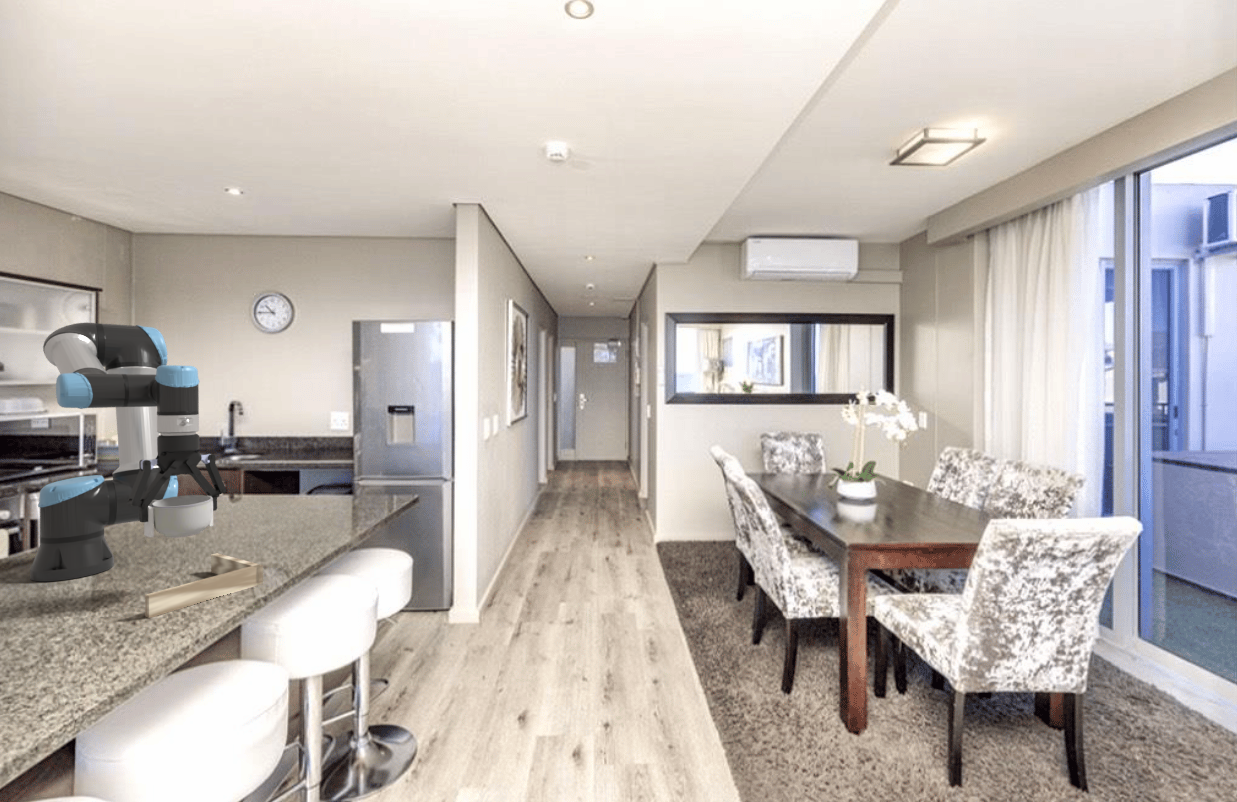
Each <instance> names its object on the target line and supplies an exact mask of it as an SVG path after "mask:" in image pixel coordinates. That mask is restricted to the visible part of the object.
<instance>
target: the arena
mask: <svg viewBox="0 0 1237 802" xmlns="http://www.w3.org/2000/svg"><path fill="white" fill-rule="evenodd" d="M210 573H212V574H215V575H214V576H210V577H206V578H203V579H198V580H194V581H192V582H188V583H184V584H181V585H177V586H172V587H169V588H165V589H162V590H157V591H154V592H150V593H148V594H147V593H146V594H145V597H144V599H145V601H144V602H145V603H144V604H145V605H144V607H145V609H144V610H145V611H144V612H145V613H144V614H145V618H148V619H150V618H154V617H157V616H160V615H164V614H167V613H170V612H174V610H175V611H178V610H181V609H185V608H187V606H188V607H190V606H195V605H197V603H198V604H201V603H205V602H207V601H206V600H208V601H210V599H211V600H213V598H214V599H217V598H216V597H218V598H220V597H219V596H221V597H224V596H228V595H231V594H234V593H237V592H240V591H244V590H247V589H251V588H254V587H258V586H261V585H263V584H264V565H263V564H260V563H256V562H252V561H248V560H244V559H242V558H237V557H233V556H229V555H226V554H223V553H222V554H221V553H218V552H216V553H212V554H210ZM230 593H231V594H230ZM227 594H228V595H227ZM223 595H224V596H223ZM200 602H201V603H200ZM194 604H195V605H194ZM184 607H185V608H184Z"/></svg>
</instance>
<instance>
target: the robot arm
mask: <svg viewBox="0 0 1237 802" xmlns="http://www.w3.org/2000/svg"><path fill="white" fill-rule="evenodd" d="M42 348H43V350H42V351H43V354H44V356H45V358H46V359H47V361H48V362H49V363H50V364H52V365H53V366H54V367H56V368H57V370H58V372H59V374H58V376H57V378H56V382H55V395H56V400H57V401H56V402H57V405H58V406H59V407H61V408H66V409H81V410H83V409H104V408H106V409H107V408H115V417H116V433H117V444H118V445H117V447H118V461H119V463H118V464H119V466H118V467H117V468H116V469H115V470H114V471H113V472H112V479H106V480H105V477H104V476H103V475H100V474H98V475H97V474H96V475H95V474H94V475H93V474H91V475H86V476H76V477H72V478H71V477H70V478H67V479H63V480H57V481H55V482H50V483H48V484H46V485H44V486H43V487H42V488H41V489H40V490H39V499H38V500H39V501H38V504H37V506H38V508H39V547H38V550H37V552H36V555H35V556H34V559H33V562H32V564H31V566H30V569H29V571H30V575H29V578H30V580H31V581H35V582H57V581H67V580H73V579H79V578H84V577H88V576H93V575H95V574H100V573H102V572H106V571H107V570H108V571H109V570H110V569H112V568H113V567H114V566H115V557H114V554H113V552H112V550H111V547H110V545H109V544H108V542H107V541H108V540H107V539H106V536H105V527H107V526H110V525H111V526H112V525H118V524H127V523H135V522H141V523H143V534H144V535H143V536H144V537H147V538H155V527H154V510H153V507H152V506H149V505H150V503H151V502H152V500H161V499H165V498H170V497H176V496H179V495H178V493H179V480H178V476H180V475H184V476H185V475H190V476H191V477H192V478H193V480H194V481H195V482H196V483H197V484H198V486H200V489H202V491H203V492H204V493H205V495H208V496H211V497H212V519H211V522H210V524H209V525H208V526H207V527H213V526H214V511H217V509H218V498H219V497H220V495H222V494H225V493H226V492H227V489H226V486H225V484H224V483H225V482H224V481H223V477H222V476H221V474H220V471H219V469H218V467H217V465H216V454H213V453H205V454H200V435H199V433H197V432H199V431H200V416H199V415H200V414H199V413H200V412H199V410H200V409H199V404H200V403H199V397H200V396H199V393H200V391H199V389H200V388H199V384H200V379H199V371H198V368H197V367H195V366H194V365H172V364H171V365H170V364H169V365H167V364H168V348H167V344H166V341H165V338H164V336H163V334H162V333H161V331H160V330H158V329H157V328H156V327H151V326H143V325H139V324H137V325H130V324H129V325H128V324H116V323H115V324H114V323H99V322H97V323H96V322H77V323H73V324H71V323H70V324H69V325H64V326H63V327H59V328H58V329H55V330H54V331H53V332H51V333H50V334H48V336H47V337H46V338H45V340H44V341H43V346H42ZM159 434H160V435H159ZM200 462H202V463H203V464H204V465H205V468H206V471H207V473H208V476H209V478H210V480H211V483H212V484H211V483H210V482H209V481H208V479H206V477H205V476H204V474H203V473H202V471H201V470H200V469H199V467H198V465H199V463H200ZM212 485H213V486H212Z"/></svg>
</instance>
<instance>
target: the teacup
mask: <svg viewBox="0 0 1237 802" xmlns="http://www.w3.org/2000/svg"><path fill="white" fill-rule="evenodd" d="M149 506H152V507H153V510H154V530H155V531H156V532H158V534H160V535H163V536H164V537H166V538H171V539H172V538H173V539H175V538H185V537H191V536H194V535H198V534H200V533H202V532H203V531H204V530H205V529H206V528H208V527H209V526H208V525H209V524H210V522H211V519H212V497H211V496H208V495H207V494H187V495H177V496H176V497H170V498H165V499H161V500H152V502H151V503H150V505H149Z"/></svg>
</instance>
